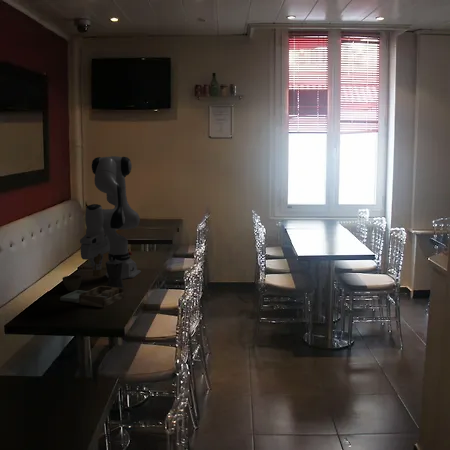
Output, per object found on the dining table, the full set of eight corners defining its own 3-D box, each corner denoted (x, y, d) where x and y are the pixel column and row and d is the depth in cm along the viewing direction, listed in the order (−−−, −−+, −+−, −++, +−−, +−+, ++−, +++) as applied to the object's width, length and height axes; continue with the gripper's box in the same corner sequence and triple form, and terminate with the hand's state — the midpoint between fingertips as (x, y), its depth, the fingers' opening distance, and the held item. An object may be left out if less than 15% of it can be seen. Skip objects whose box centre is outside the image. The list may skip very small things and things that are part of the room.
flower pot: (74, 286, 306) (73, 274, 305) (86, 289, 300) (85, 276, 299) (59, 290, 298) (58, 277, 297) (71, 293, 292) (70, 280, 291)
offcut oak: (113, 297, 285) (112, 288, 284) (119, 298, 284) (118, 288, 283) (107, 300, 280) (107, 290, 280) (113, 300, 279) (113, 291, 278)
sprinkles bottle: (101, 276, 277) (99, 250, 275) (91, 277, 277) (90, 250, 274) (102, 274, 281) (101, 248, 279) (93, 274, 281) (92, 248, 279)
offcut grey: (101, 303, 275) (101, 295, 275) (107, 303, 274) (107, 296, 273) (96, 305, 271) (96, 297, 270) (102, 306, 270) (102, 298, 269)
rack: (100, 294, 289) (100, 285, 289) (123, 297, 284) (123, 288, 284) (79, 304, 273) (79, 294, 272) (103, 307, 268) (103, 297, 267)
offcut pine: (106, 300, 279) (106, 290, 278) (112, 301, 278) (112, 290, 277) (102, 302, 276) (101, 292, 275) (108, 303, 274) (107, 292, 274)
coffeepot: (127, 291, 296) (125, 258, 293) (109, 293, 292) (108, 259, 290) (119, 284, 310) (118, 252, 307) (103, 286, 306) (101, 254, 303)
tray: (77, 293, 292) (77, 289, 292) (93, 295, 289) (93, 291, 288) (60, 300, 279) (60, 297, 279) (77, 302, 276) (76, 299, 275)
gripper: (101, 233, 286) (102, 259, 289) (77, 240, 268) (79, 268, 270) (112, 234, 284) (113, 260, 286) (88, 241, 265) (90, 269, 268)
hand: (96, 264), depth 278 cm, fingers closed on sprinkles bottle, 4 cm apart
